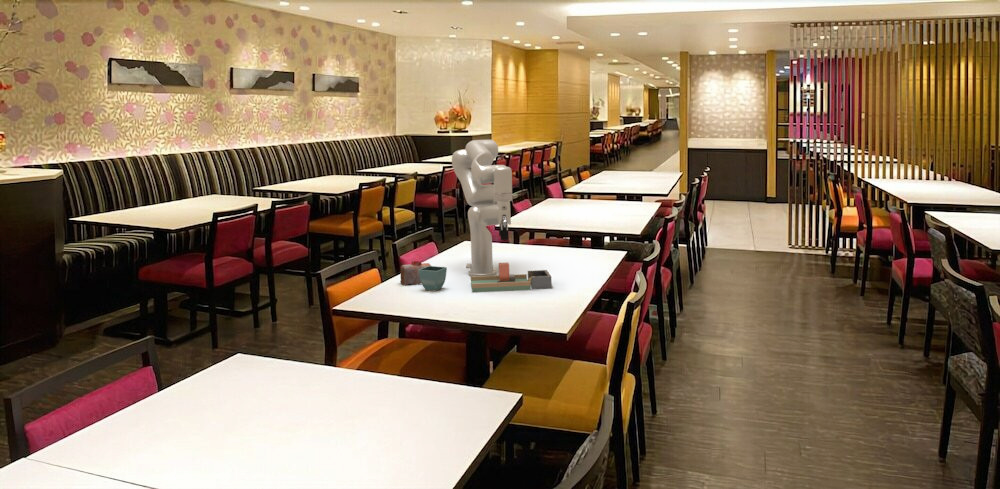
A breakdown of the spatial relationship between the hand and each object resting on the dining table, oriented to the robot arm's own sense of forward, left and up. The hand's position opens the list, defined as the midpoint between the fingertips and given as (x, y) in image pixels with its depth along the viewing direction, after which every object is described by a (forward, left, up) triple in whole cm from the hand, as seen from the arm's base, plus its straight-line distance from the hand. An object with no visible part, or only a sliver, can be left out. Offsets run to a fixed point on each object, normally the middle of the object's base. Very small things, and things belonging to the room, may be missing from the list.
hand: (503, 237), depth 315 cm
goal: (+12, +8, -21) cm, 25 cm away
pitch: (-1, -2, -21) cm, 21 cm away
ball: (+10, +7, -19) cm, 22 cm away
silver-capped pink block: (+1, -1, -19) cm, 19 cm away
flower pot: (-23, -19, -21) cm, 36 cm away
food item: (-37, -14, -21) cm, 45 cm away
